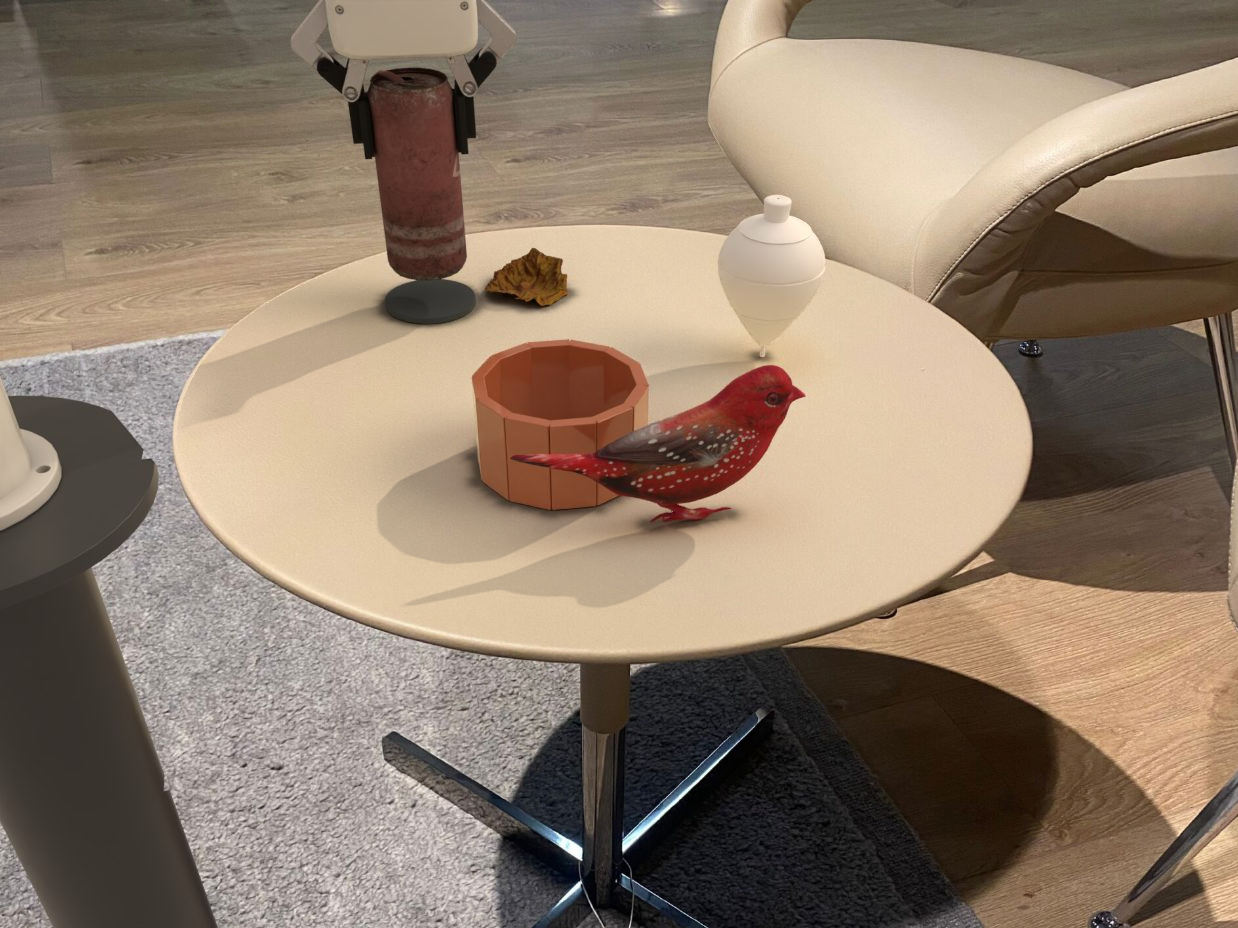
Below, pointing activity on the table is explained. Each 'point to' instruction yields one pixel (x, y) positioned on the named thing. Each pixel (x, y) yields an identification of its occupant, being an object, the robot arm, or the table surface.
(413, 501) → the table surface
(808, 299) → the spinning top
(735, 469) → the decorative bird figurine
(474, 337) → the table surface
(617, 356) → the pot
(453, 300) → the coaster
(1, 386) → the robot arm
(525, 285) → the leaf
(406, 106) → the can
